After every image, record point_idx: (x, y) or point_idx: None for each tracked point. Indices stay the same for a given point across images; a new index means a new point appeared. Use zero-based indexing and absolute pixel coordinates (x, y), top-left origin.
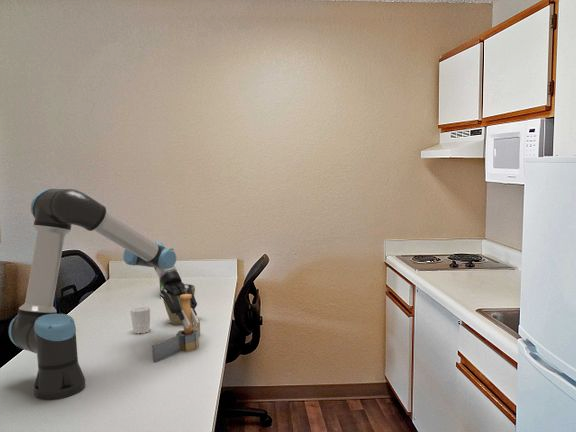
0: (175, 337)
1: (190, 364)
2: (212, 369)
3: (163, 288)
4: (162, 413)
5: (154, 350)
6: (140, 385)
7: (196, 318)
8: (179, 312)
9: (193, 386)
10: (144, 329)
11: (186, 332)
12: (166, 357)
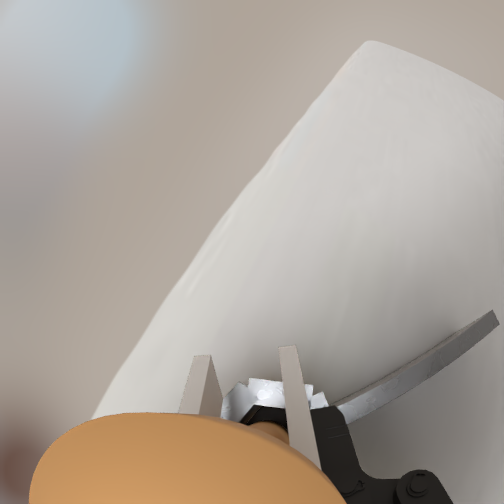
0: (374, 392)
1: (343, 232)
2: (292, 160)
3: None
4: (429, 77)
5: (480, 317)
6: (487, 180)
7: (193, 378)
8: (349, 464)
9: (369, 111)
10: None
11: (283, 429)
12: (408, 363)
